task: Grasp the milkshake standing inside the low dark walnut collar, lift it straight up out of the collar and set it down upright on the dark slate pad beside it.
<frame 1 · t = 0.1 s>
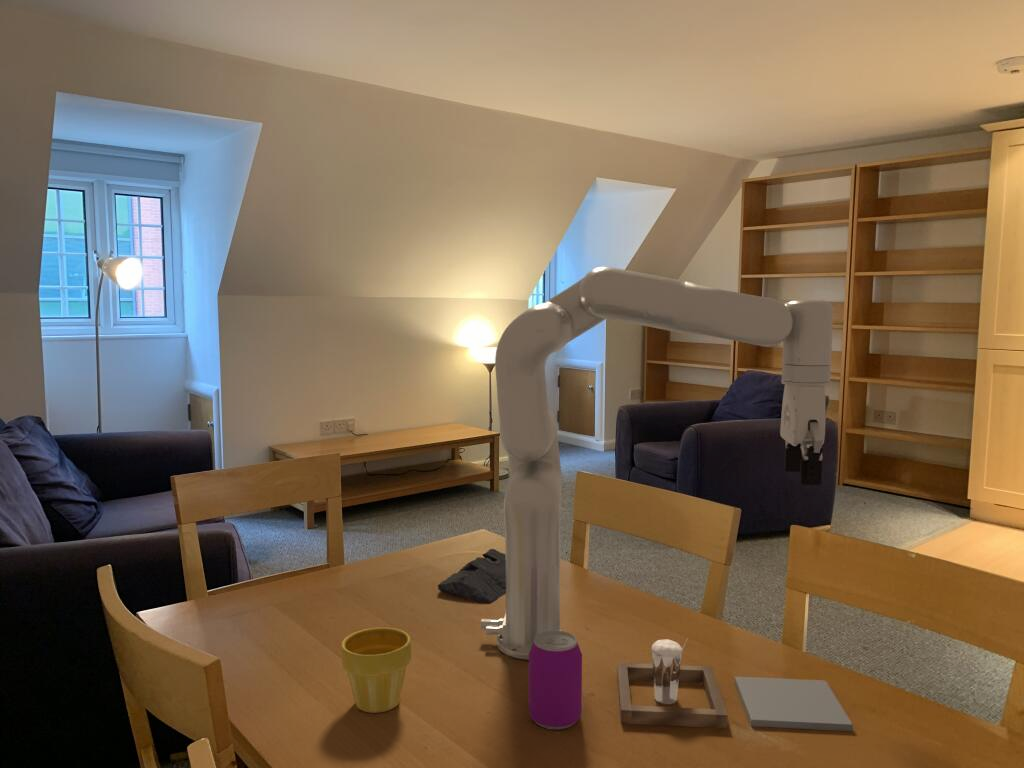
hand: (801, 477, 132), 31 cm above the table, tool pointing down, fingers open, 9 cm apart
plant pot: (377, 703, 120), on the table
slate pad: (789, 705, 119), on the table
walnut collar: (668, 699, 121), on the table
milkshake: (668, 700, 121), on the table
dark slate chunk: (482, 585, 171), on the table
beverage can: (555, 719, 115), on the table
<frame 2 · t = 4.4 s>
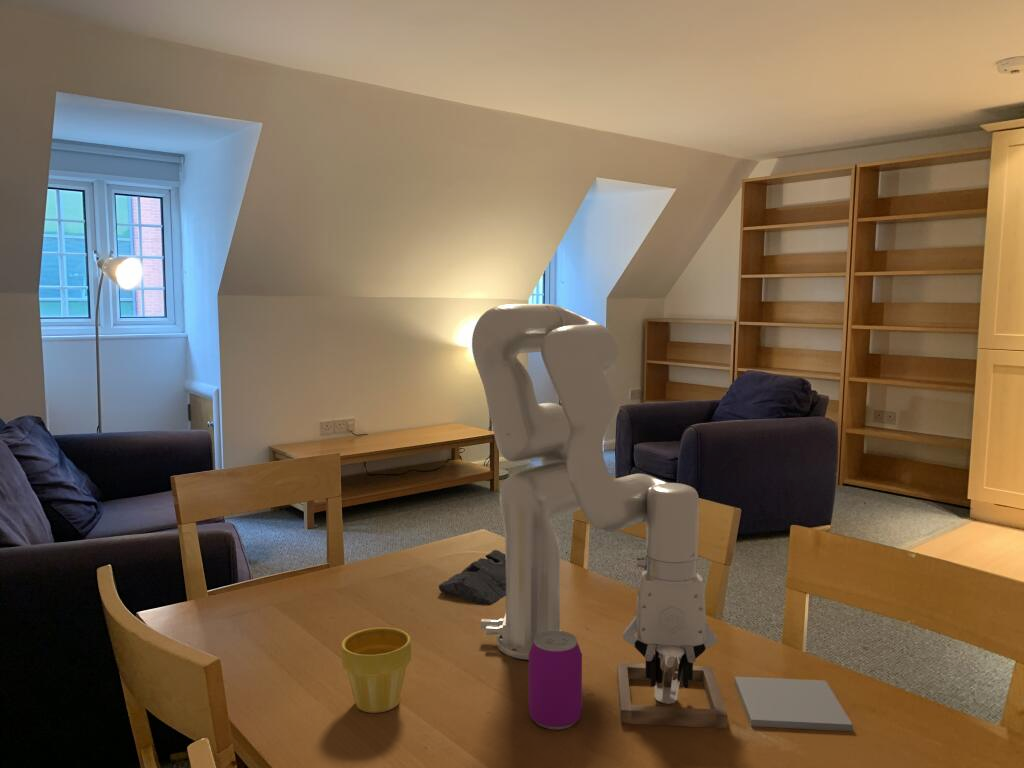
hand: (668, 681, 120), 3 cm above the table, tool pointing down, fingers closed on milkshake, 4 cm apart
milkshake: (668, 700, 121), on the table, touching gripper
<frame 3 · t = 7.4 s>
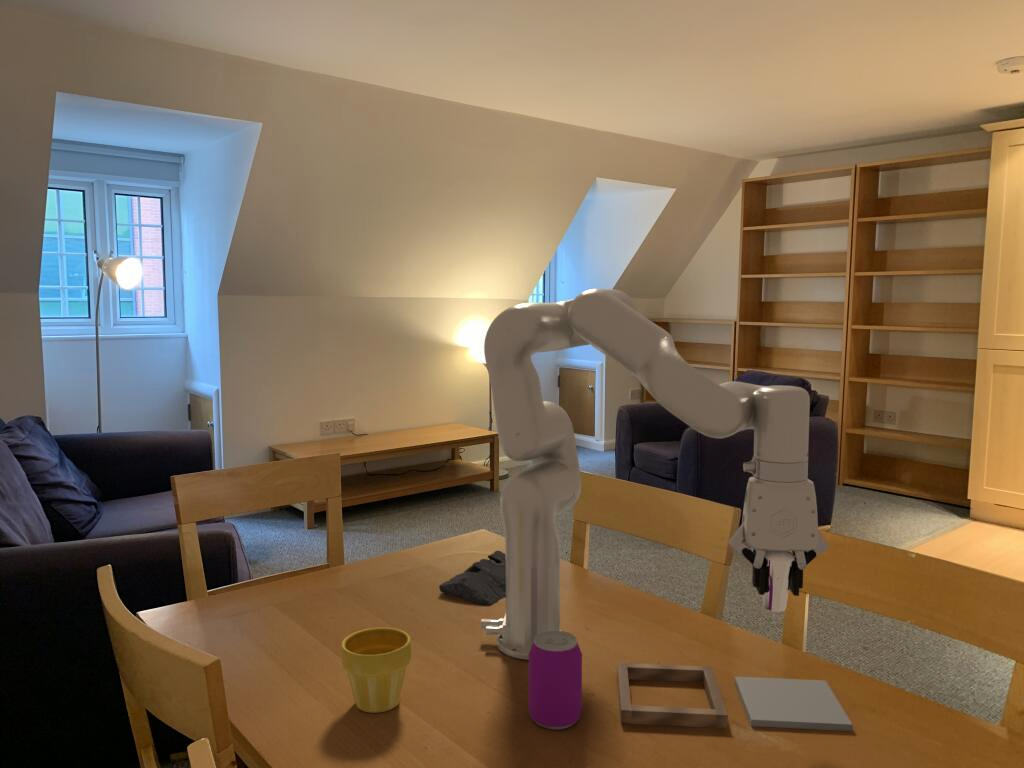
hand: (777, 590, 117), 18 cm above the table, tool pointing down, fingers closed on milkshake, 4 cm apart
milkshake: (776, 610, 117), point 15 cm above the table, touching gripper
when the fingers open (5 cm above the table, at t = 10.8 s): milkshake stays where it is, resting on slate pad.
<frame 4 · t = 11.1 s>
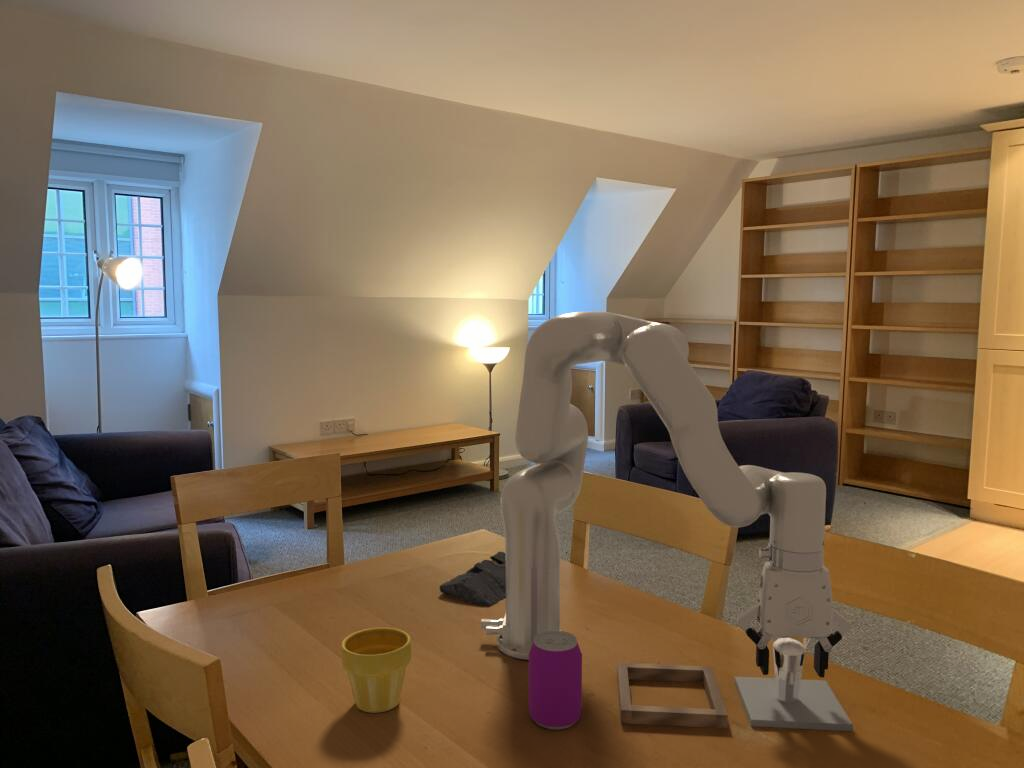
hand: (791, 671, 118), 5 cm above the table, tool pointing down, fingers open, 7 cm apart
milkshake: (789, 700, 119), point 1 cm above the table, touching slate pad
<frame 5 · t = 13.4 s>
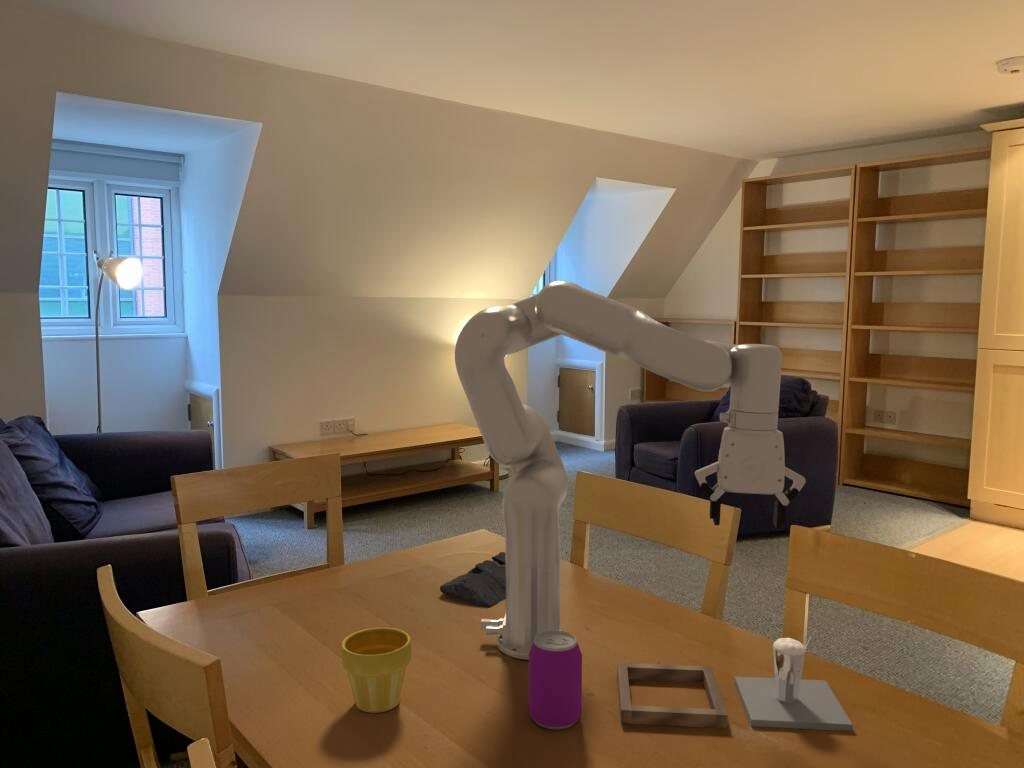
hand: (746, 525, 129), 24 cm above the table, tool pointing down, fingers open, 9 cm apart
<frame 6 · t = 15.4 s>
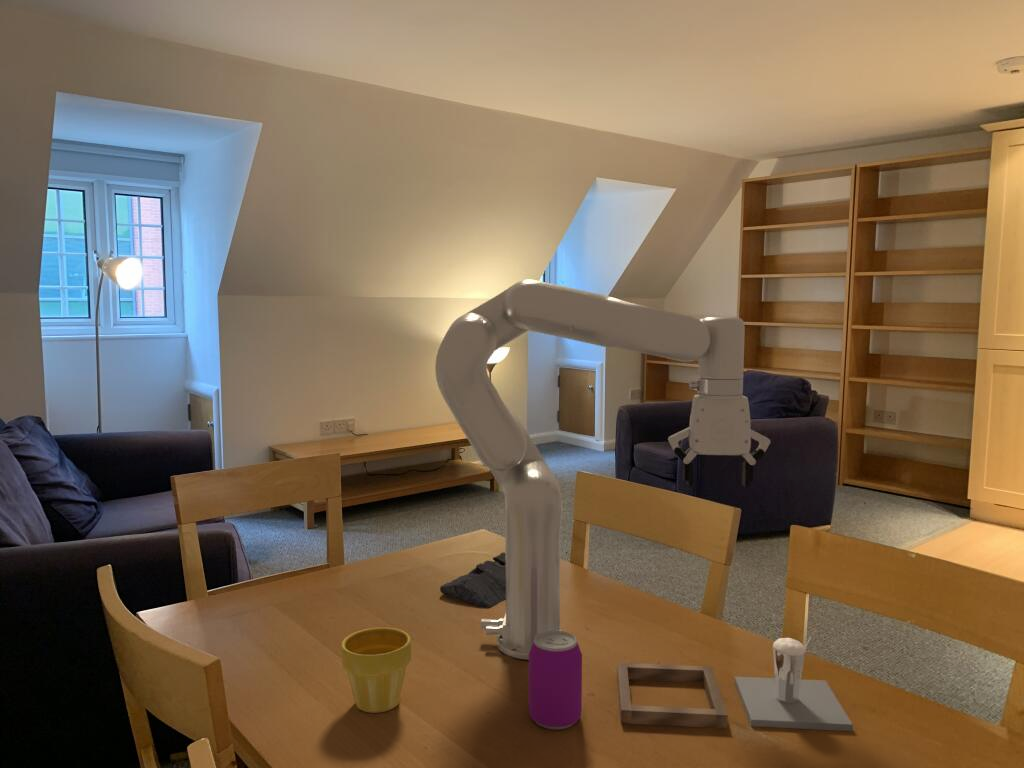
hand: (717, 485, 138), 28 cm above the table, tool pointing down, fingers open, 9 cm apart
at the end: milkshake inside the target area on the slate pad (0.1 cm from its centre), point 0.8 cm above the slate pad's base; milkshake tilted 0°; the gripper is holding nothing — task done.
